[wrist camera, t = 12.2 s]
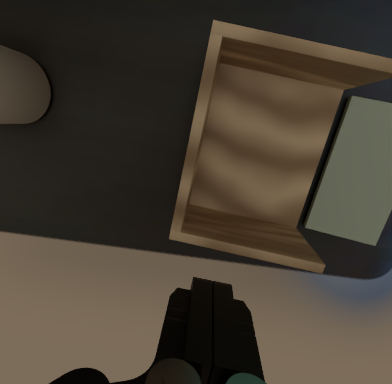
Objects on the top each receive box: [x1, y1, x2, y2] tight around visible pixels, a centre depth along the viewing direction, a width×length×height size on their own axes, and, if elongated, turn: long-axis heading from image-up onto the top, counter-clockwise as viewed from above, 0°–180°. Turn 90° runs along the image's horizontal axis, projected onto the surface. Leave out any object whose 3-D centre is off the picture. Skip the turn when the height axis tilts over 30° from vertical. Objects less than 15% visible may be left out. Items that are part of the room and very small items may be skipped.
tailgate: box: [304, 96, 392, 246], centre depth 32 cm, size 17×2×9 cm
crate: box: [169, 20, 392, 273], centre depth 29 cm, size 20×16×11 cm
